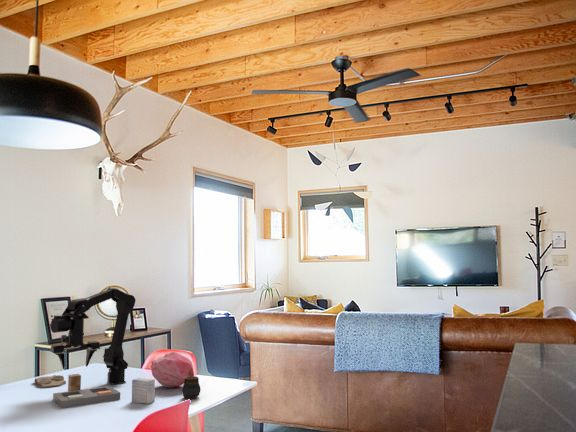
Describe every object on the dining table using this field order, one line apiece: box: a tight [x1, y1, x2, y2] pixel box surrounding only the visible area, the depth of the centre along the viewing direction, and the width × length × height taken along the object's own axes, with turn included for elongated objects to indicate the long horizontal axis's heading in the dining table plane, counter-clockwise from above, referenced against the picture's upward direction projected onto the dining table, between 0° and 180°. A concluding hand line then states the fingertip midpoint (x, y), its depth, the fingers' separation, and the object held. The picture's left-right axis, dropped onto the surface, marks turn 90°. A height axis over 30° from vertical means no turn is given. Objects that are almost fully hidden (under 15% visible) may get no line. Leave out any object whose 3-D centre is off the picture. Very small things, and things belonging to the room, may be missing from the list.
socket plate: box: [52, 385, 121, 409], centre depth 211 cm, size 22×14×3 cm, turn 126°
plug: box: [67, 373, 82, 392], centre depth 223 cm, size 4×4×7 cm
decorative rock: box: [150, 351, 195, 389], centre depth 233 cm, size 19×14×15 cm
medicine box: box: [131, 377, 156, 405], centre depth 208 cm, size 8×4×9 cm, turn 65°
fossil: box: [34, 374, 67, 389], centre depth 238 cm, size 11×15×4 cm
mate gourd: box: [181, 371, 202, 400], centre depth 215 cm, size 7×8×10 cm
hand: (75, 367), depth 223 cm, fingers open, 9 cm apart
